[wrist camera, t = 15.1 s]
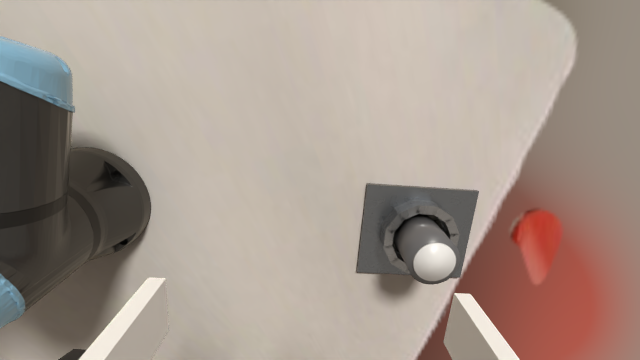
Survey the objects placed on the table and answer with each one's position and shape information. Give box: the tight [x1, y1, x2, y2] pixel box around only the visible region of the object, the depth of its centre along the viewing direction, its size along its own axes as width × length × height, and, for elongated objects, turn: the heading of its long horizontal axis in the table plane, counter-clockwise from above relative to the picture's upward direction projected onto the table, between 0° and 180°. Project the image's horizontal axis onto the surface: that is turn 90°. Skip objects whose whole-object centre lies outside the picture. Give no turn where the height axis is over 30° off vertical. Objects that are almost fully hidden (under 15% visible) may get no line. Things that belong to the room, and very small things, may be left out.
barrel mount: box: [357, 183, 479, 277], centre depth 47 cm, size 16×14×3 cm
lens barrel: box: [393, 214, 460, 284], centre depth 44 cm, size 6×6×8 cm
